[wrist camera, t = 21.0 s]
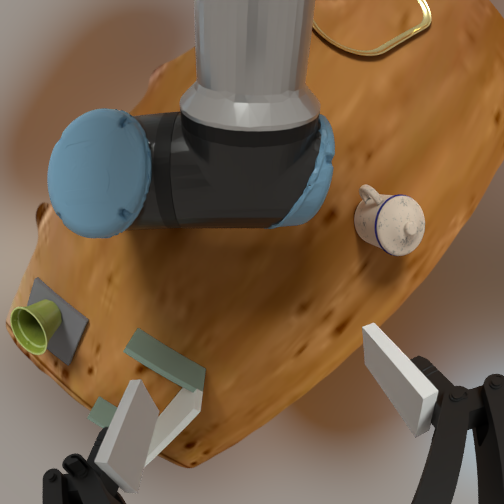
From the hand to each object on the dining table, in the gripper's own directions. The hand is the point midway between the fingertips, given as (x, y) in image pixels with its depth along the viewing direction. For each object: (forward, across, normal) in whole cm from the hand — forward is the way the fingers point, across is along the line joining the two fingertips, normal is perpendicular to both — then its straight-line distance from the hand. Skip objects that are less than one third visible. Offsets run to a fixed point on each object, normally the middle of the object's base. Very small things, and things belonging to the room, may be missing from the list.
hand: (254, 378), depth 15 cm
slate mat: (+32, +41, +4) cm, 52 cm away
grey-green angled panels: (+32, +26, +22) cm, 47 cm away
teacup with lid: (+32, -23, -1) cm, 39 cm away
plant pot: (+31, +40, +2) cm, 50 cm away
